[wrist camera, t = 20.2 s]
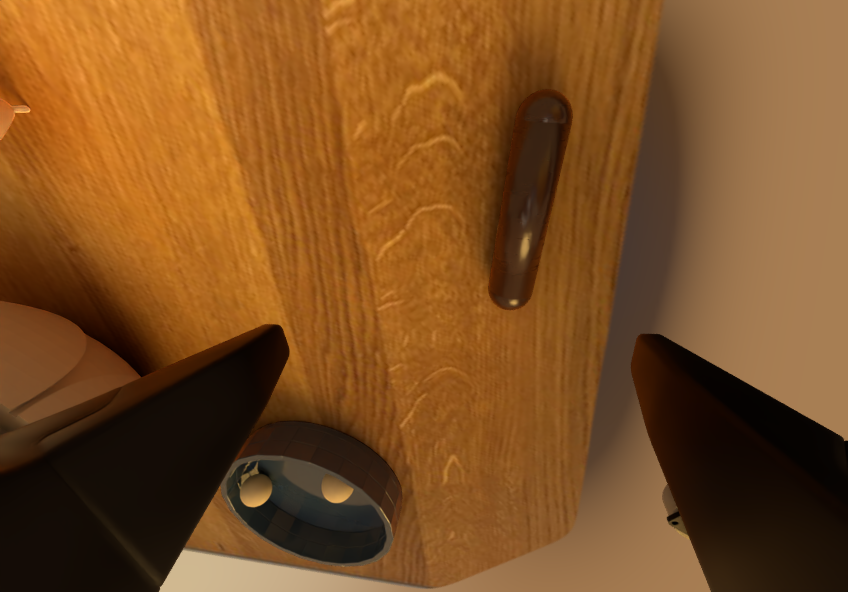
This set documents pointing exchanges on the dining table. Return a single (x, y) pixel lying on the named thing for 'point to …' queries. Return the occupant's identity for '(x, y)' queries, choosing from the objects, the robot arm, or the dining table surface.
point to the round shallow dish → (316, 494)
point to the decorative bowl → (50, 366)
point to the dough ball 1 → (256, 490)
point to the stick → (528, 195)
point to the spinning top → (9, 115)
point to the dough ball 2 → (335, 489)
